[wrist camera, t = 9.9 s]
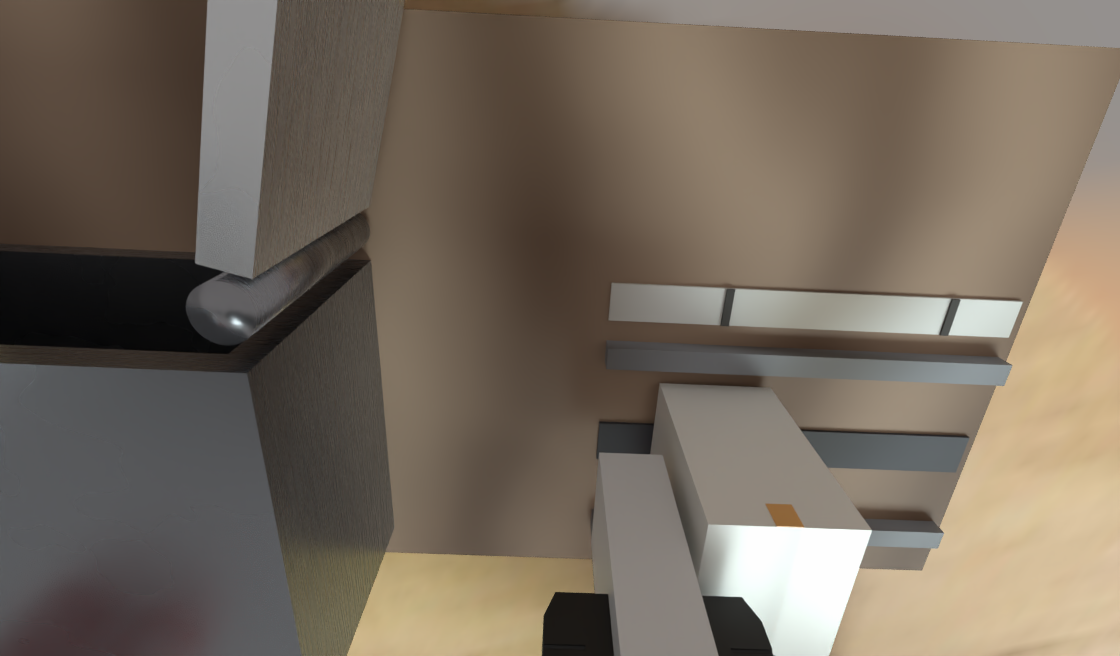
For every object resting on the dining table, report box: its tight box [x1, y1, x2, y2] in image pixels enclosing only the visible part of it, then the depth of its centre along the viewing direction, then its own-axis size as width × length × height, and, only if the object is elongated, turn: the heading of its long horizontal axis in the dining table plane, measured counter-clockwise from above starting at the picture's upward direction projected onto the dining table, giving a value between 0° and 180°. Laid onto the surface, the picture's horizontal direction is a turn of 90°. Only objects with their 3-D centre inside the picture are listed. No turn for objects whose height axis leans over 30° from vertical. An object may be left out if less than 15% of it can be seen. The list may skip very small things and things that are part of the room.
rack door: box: [186, 0, 405, 345], centre depth 9 cm, size 10×2×6 cm, turn 163°
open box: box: [0, 243, 394, 656], centre depth 13 cm, size 10×8×6 cm
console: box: [0, 0, 1120, 570], centre depth 15 cm, size 27×15×2 cm, turn 87°
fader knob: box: [650, 383, 872, 656], centre depth 13 cm, size 3×4×5 cm
